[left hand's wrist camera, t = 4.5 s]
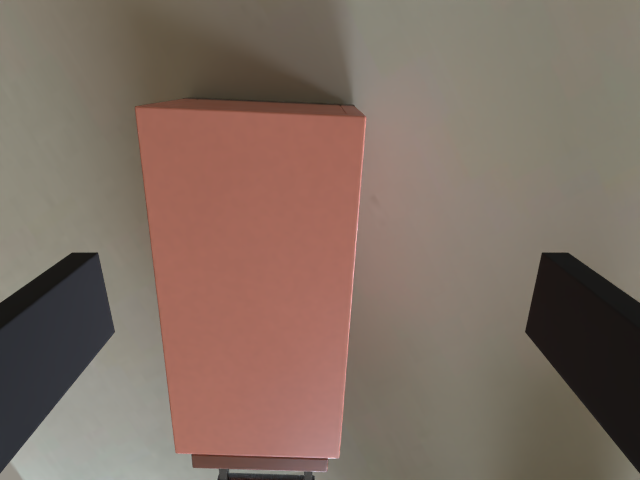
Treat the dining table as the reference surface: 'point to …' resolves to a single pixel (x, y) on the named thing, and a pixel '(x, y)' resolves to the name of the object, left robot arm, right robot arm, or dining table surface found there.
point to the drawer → (260, 466)
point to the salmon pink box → (253, 268)
